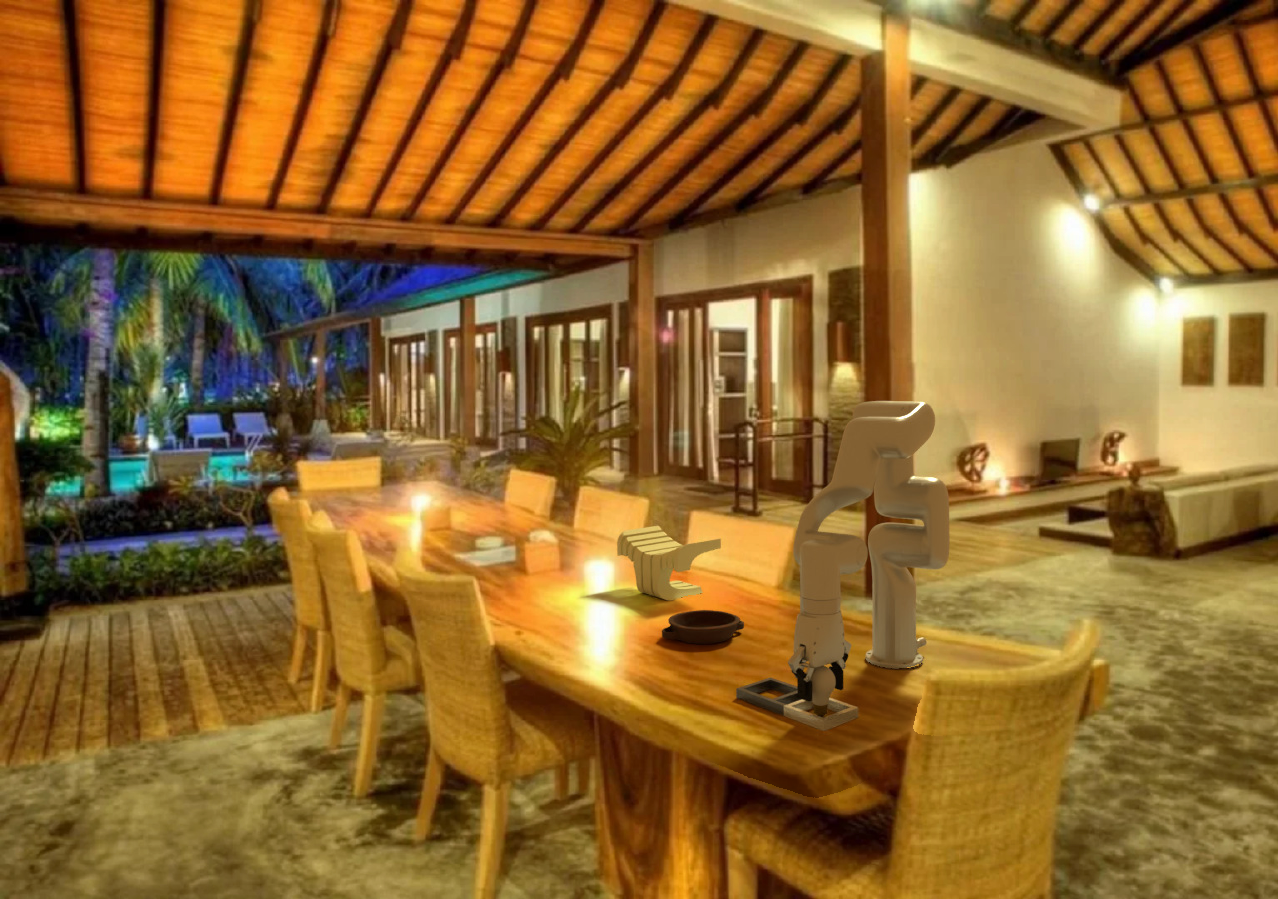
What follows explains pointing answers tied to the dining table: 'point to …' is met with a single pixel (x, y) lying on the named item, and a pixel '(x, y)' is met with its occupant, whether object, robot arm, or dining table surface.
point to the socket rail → (795, 704)
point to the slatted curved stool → (661, 560)
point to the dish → (702, 626)
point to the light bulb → (822, 689)
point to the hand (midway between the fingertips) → (820, 693)
